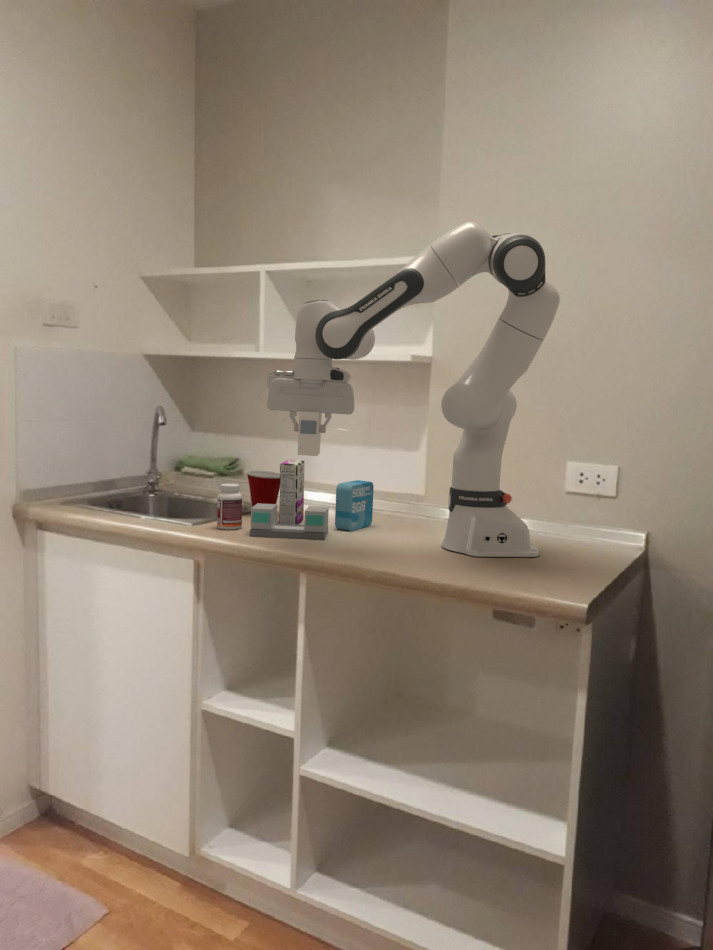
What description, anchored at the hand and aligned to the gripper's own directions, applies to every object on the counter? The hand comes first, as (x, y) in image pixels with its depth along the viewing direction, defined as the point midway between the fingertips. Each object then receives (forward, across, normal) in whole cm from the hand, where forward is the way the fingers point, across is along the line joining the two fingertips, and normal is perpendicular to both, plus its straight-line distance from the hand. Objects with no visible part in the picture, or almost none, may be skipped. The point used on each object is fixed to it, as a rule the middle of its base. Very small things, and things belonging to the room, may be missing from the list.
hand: (309, 432), depth 173 cm
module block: (+5, 0, 0) cm, 5 cm away
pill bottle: (+26, -20, +11) cm, 35 cm away
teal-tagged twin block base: (+26, -4, +6) cm, 27 cm away
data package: (+26, +11, +19) cm, 34 cm away
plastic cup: (+26, -15, +33) cm, 45 cm away
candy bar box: (+26, -6, +22) cm, 35 cm away
